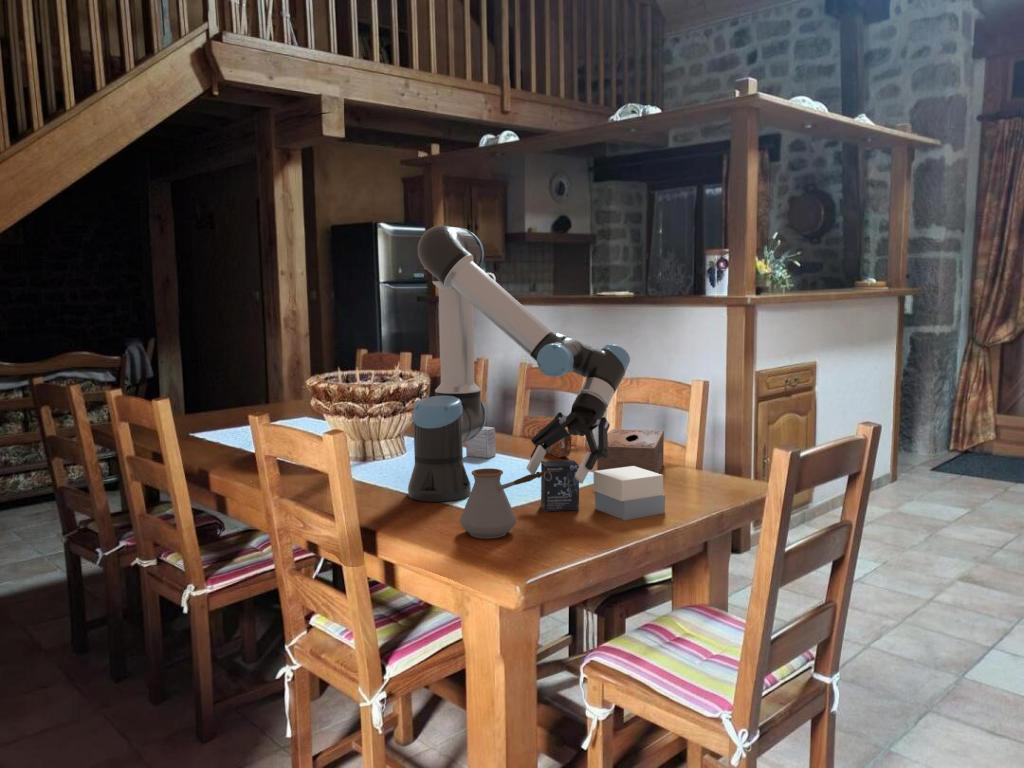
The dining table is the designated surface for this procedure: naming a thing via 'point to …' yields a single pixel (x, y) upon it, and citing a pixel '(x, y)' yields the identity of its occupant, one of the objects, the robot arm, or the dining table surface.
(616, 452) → the tissue box cover
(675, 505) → the dining table surface
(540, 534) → the dining table surface
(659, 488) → the tower top
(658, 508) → the block
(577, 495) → the box
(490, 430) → the medicine box
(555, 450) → the tin
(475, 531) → the coffee pot
